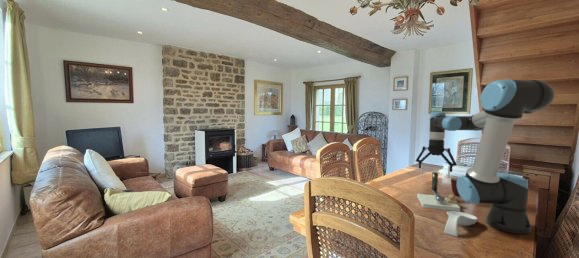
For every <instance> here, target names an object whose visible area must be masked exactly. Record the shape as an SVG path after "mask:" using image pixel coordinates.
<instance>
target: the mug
mask: <svg viewBox="0 0 579 258" xmlns="http://www.w3.org/2000/svg"><path fill="white" fill-rule="evenodd" d="M458 178H459V177H451V178H450V184H451V191H452V193H453V195H454V196H455V197H461V196H460V195H459V193H458V190H457V179H458Z"/></svg>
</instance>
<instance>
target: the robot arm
mask: <svg viewBox="0 0 579 258" xmlns="http://www.w3.org/2000/svg"><path fill="white" fill-rule="evenodd" d="M479 99H480V100H479V101H480V106H481V107H482V109H484V110H481V111H479V112H477V113H475V114H473V115H462V116H461V115H446V112H443V111H440V112H437V111H436V112H435V111H434V112H431V113H430V117H429V134H428V135H429V136H428V137H429V139H428V147H427V146H425V145H424V146H422V148H421V152H420V153H419V155H418V156H417V157H416V158H415V162H417V163H418V169H420V175H423V172H424V171H423V170H424V169H423V168H424V161H425V160H426V159H427V158H428V157H429V156H438V157H439V156H441V157H442V158H443V160H444V161H446V163H447V164H448V165H447V166H448V167H447V169H448V170H447V178H448V179H450V174H451V173H452V172H453V167H455V166H457V162H456V160H455V158H454V156H453V154H452V152H451V148H450V147H449V148H445V132H446V131H450V132H455V131H456V132H457V131H475V132H479V131H482V134H481V136H480V140H479V143H478V147H477V150H476V154H475V157H474V160H473V163H472V166H471V167H470V168H468V169H466V172H465V175H461V176H459V177H457V178H458V179H457V190H458V193H459V195H460V196H459V197H460V198H461V199H462V200H463V201H465V202H466V203H469V204H476V205H478V204H483V205H485V204H489V205H491V207H490V209H489V211H488V213H487V215H486V217H485V218H486V219H485V223H486V224H487V225H488V226H489V227H490V226H491V227H492V228H495V229H496V230H500V231H503V232H505V233H506V232H507V233H512V234H517V235H528V234H531V233H532V225H531V222H530V219H529V216H528V213H527V209H528V199H529V198H528V196H529V190H530V189H529V181H528V180H527V179H526V178H525V177H521V176H519V175H513V174H510V173H502V172H499V169H500V166H501V163H502V160H503V158H504V154H505V151H506V149H507V146H508V143H509V139H510V137H511V134H512V131H513V128H514V125H515V122H516V121H519V120H520V119H522V117H523V115H524V114H527V115H528V114H530V115H531V114H533V113H536V112H540V111H541V110H544V109H546V108H547V107H549V106H550V105H551V104H552V103H553V101H554V99H555V90H554V88H553V87H552V86H551V85H550V84H549V83H548V82H546V81H544V80H540V79H508V78H507V79H498V80H494V81H492V82H490V83H489V84H487V85H486V86H485V87H484V88H483V90H482V92H481V94H480V98H479ZM427 150H428V152H427V154H425V156H423V154H424V153H425V151H427ZM444 152H446V153H447V154H448V156H449V158H450V160H451V161H450V160H449V159H448V157H447V156H446V155H445V154H444ZM422 156H423V157H422ZM421 157H422V158H421Z"/></svg>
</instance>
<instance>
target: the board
mask: <svg viewBox="0 0 579 258" xmlns="http://www.w3.org/2000/svg"><path fill="white" fill-rule="evenodd" d="M416 194H417V196H416V197H417V199H418V201H419V203H420V205H421V208H424V209H434V210H443V211H456V212H461V206H459V205H458V201H457V200H456V196H455V195H454V194H452V193H451V194H449V195H448V196H444V195H442V196H443V197H445V200H444V201H438V200H436V196H435V195H434V194H423V193H416Z"/></svg>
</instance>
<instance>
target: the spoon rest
mask: <svg viewBox="0 0 579 258" xmlns="http://www.w3.org/2000/svg"><path fill="white" fill-rule="evenodd" d="M446 215H447V217H448V218H447V221H446V224H445V227H444V231H443V233H444V234H445V235H449V236H451V237H454V238H457V237H458V226H460V227H469V226H472V225H475V224H476V223H477V221H478V220H479V218H478V217H477V216H475V215H473V214H471V213H466V212H462V211H460V212H459V211H450V210H447V212H446Z"/></svg>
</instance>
